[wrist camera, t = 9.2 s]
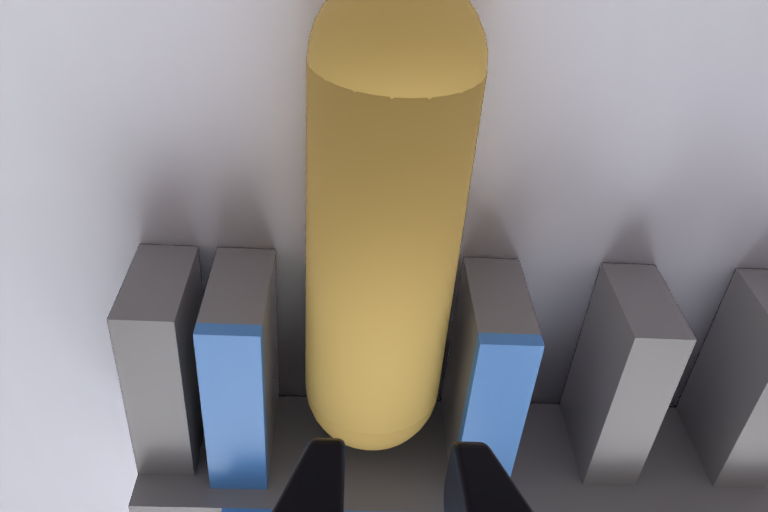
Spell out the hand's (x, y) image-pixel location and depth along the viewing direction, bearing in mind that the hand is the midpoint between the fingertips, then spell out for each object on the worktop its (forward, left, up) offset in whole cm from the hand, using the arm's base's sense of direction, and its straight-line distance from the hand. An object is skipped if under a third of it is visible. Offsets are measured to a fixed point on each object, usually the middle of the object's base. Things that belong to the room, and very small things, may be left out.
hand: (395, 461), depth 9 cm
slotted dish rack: (-8, -7, -10) cm, 14 cm away
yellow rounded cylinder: (-3, 0, -10) cm, 10 cm away
